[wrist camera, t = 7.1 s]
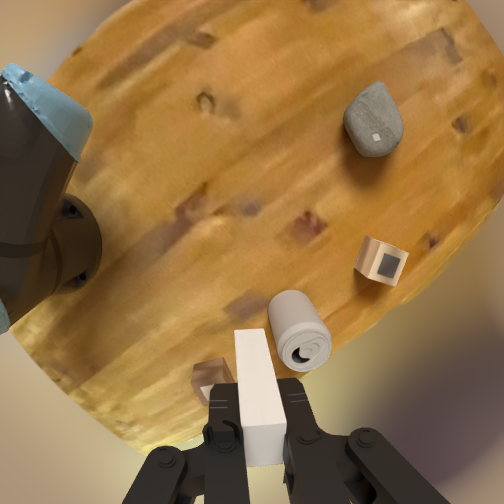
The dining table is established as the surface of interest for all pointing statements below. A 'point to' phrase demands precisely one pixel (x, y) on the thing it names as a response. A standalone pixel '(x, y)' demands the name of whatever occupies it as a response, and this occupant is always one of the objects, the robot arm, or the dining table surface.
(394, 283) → the beech block
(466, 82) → the dining table surface
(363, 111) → the stone
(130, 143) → the dining table surface
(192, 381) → the walnut block
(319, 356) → the beverage can
